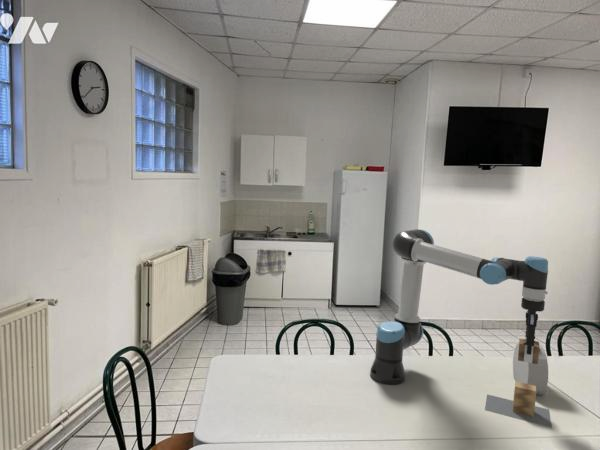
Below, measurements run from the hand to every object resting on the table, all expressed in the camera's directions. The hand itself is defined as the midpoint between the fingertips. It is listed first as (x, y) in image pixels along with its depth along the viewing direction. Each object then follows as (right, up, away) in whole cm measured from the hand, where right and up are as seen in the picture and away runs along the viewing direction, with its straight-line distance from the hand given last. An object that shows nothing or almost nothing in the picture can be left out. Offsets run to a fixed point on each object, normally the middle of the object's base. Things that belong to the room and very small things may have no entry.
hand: (527, 358), depth 159 cm
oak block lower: (-1, -21, +2) cm, 21 cm away
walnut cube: (0, 0, 0) cm, 0 cm away
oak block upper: (0, -16, +2) cm, 16 cm away
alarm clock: (+13, -20, +24) cm, 33 cm away
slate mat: (-2, -21, +3) cm, 21 cm away
